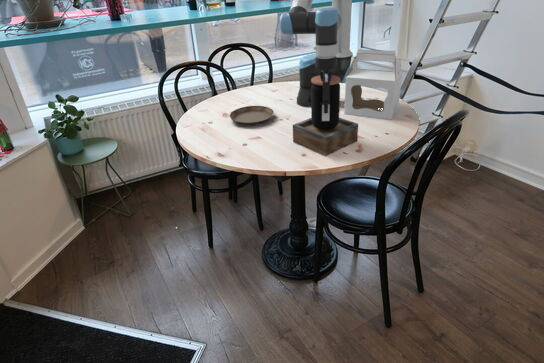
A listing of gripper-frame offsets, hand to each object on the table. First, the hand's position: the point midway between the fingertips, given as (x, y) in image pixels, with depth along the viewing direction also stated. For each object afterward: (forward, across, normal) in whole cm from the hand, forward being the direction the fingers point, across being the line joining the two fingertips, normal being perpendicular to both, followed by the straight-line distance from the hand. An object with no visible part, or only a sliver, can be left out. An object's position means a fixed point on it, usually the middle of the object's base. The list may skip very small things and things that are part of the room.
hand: (325, 115), depth 145 cm
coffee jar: (+4, 0, 0) cm, 4 cm away
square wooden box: (+11, 0, 0) cm, 11 cm away
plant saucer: (+12, -26, -33) cm, 44 cm away
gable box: (+12, -32, +22) cm, 41 cm away
